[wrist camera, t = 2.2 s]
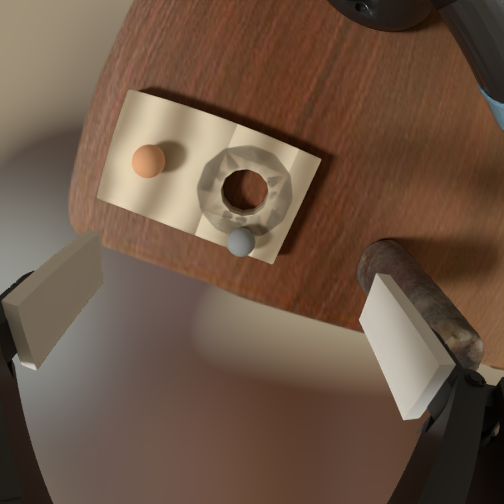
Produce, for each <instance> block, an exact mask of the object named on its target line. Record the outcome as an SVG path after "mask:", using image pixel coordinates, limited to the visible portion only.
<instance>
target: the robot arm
mask: <svg viewBox="0 0 504 504" xmlns="http://www.w3.org/2000/svg"><path fill="white" fill-rule="evenodd" d="M327 1H328V2H329V3H330V4H331V5H332V6H333V7H334V8H335V9H337V10H338V11H339V12H340V13H342V14H343V15H345V16H346V17H348V18H349V19H351V20H353V21H355V22H357V23H359V24H361V25H363V26H366V27H369V28H372V29H376V30H380V31H391V32H393V31H402V30H406V29H409V28H411V27H413V26H415V25H417V24H419V23H420V22H422V21H423V20H424V19H425V18H426V17H427V16H428V15H429V14H430V12H431V10H432V8H433V5H434V6H435V8H436V9H437V11H438V13H439V14H440V16H441V17H442V19H443V20H444V22H445V23H446V25H447V26H448V28H449V30H450V31H451V33H452V35H453V36H454V38H455V40H456V41H457V43H458V45H459V46H460V48H461V50H462V52H463V54H464V55H465V57H466V59H467V61H468V63H469V65H470V67H471V69H472V71H473V73H474V75H475V77H476V80H477V82H478V87H479V89H480V92H481V93H482V95H483V96H484V97H485V98H486V100H487V102H488V104H489V106H490V108H491V111H492V113H493V115H494V118H495V120H496V122H497V123H498V125H499V126H500V127H501V129H502V130H503V131H504V0H327ZM102 284H103V273H102V251H101V232H100V231H93V230H86V231H85V232H84V233H82V234H81V235H80V236H78V237H77V238H76V239H74V240H73V241H72V242H71V243H69V244H68V245H67V246H65V247H64V248H63V249H61V250H60V251H59V252H58V253H56V254H55V255H54V256H53V257H51V258H50V259H49V260H48V261H47V262H45V263H44V264H43V265H42V266H40V267H39V268H38V269H37V270H36V271H32V272H29V273H27V274H25V275H23V276H22V277H21V278H20V279H18V281H16V283H14V284H13V285H11V286H10V288H8V289H7V290H6V291H5V292H3V293H2V294H1V295H0V504H53V502H52V500H51V497H50V495H49V493H48V490H47V487H46V485H45V482H44V479H43V477H42V474H41V471H40V468H39V465H38V462H37V460H36V456H35V453H34V450H33V447H32V444H31V440H30V436H29V433H28V429H27V426H26V421H25V417H24V413H23V409H22V404H21V399H20V394H19V389H18V383H17V378H16V371H15V366H14V363H13V360H12V358H13V357H14V356H15V354H16V353H17V354H18V356H19V359H20V362H21V364H22V365H24V366H26V367H29V368H31V369H34V370H36V371H37V370H38V369H39V367H40V366H41V364H42V363H43V362H44V360H45V359H46V357H47V356H48V354H49V353H50V352H51V350H52V349H53V347H54V346H55V345H56V343H57V342H58V341H59V339H60V338H61V336H62V335H63V334H64V333H65V331H66V330H67V328H68V327H69V326H70V325H71V323H72V322H73V321H74V319H75V318H76V317H77V315H78V314H79V313H80V312H81V310H82V309H83V308H84V306H85V305H86V304H87V303H88V301H89V300H90V299H91V298H92V296H93V295H94V294H95V293H96V291H97V290H98V289H99V288H100V286H101V285H102ZM359 321H360V323H361V325H362V328H363V330H364V332H365V334H366V336H367V338H368V340H369V342H370V345H371V346H372V349H373V351H374V353H375V355H376V358H377V360H378V362H379V364H380V367H381V369H382V371H383V373H384V375H385V378H386V380H387V382H388V385H389V387H390V389H391V392H392V394H393V396H394V399H395V401H396V403H397V405H398V408H399V411H400V413H401V416H402V418H403V420H408V419H416V418H420V416H421V415H422V414H423V412H424V411H425V410H426V408H428V410H429V412H430V414H431V415H430V416H429V417H428V418H427V420H426V421H425V422H424V424H423V425H422V426H421V428H420V429H419V430H418V431H417V434H419V433H420V432H421V431H422V432H421V435H420V437H419V439H418V442H417V444H416V446H415V449H414V451H413V453H412V455H411V458H410V460H409V462H408V464H407V466H406V468H405V470H404V472H403V474H402V477H401V479H400V480H399V482H398V484H397V486H396V488H395V490H394V492H393V494H392V496H391V498H390V499H389V501H388V503H387V504H504V377H502V378H501V380H500V381H499V383H498V384H497V385H496V386H494V385H488V384H486V381H485V379H484V378H483V377H482V376H481V375H480V374H479V373H478V372H476V371H475V370H472V369H464V368H463V367H462V365H461V364H460V363H459V361H458V360H457V358H456V357H455V355H454V354H453V352H452V351H451V350H449V349H450V348H449V347H448V345H447V344H445V341H444V340H443V338H442V337H441V336H440V334H438V333H437V332H436V331H435V330H434V329H432V328H431V327H429V326H428V324H427V323H426V321H425V320H424V319H423V317H422V316H421V315H420V313H419V312H418V311H417V309H416V308H415V307H414V305H413V304H412V303H411V301H410V300H409V299H408V298H407V296H406V295H405V294H404V292H403V291H402V290H401V289H400V287H399V286H398V285H397V283H396V282H395V281H394V280H393V278H392V277H391V276H390V275H387V274H380V273H376V275H375V278H374V281H373V284H372V287H371V290H370V292H369V295H368V298H367V301H366V303H365V306H364V309H363V311H362V314H361V317H360V319H359ZM499 425H500V428H499V432H498V434H497V435H496V436H495V432H494V431H495V429H496V428H497V427H498V426H499Z"/></svg>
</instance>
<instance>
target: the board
mask: <svg viewBox="0 0 504 504" xmlns="http://www.w3.org/2000/svg"><path fill="white" fill-rule="evenodd" d="M147 144H152V145H155V146H157V147H159V148H160V149H161V150H162V151H163V153H164V155H165V166H164V168H163V170H162V171H161V173H159V174H158V175H157V176H155V177H152V178H143V177H141V176H139V175H137V174H136V173H135V171H134V169H133V167H132V157H133V154H134V153H135V151H136V150H137V149H138V148H139V147H141V146H143V145H147ZM321 160H322V159H320V158H318V157H316V156H314V155H312V154H309V153H307V152H305V151H303V150H300V149H298V148H296V147H294V146H291V145H289V144H287V143H284V142H282V141H280V140H277V139H275V138H272V137H270V136H268V135H265V134H263V133H260V132H258V131H255V130H253V129H250V128H247V127H245V126H242V125H240V124H237V123H234V122H232V121H229V120H226V119H224V118H221V117H218V116H215V115H212V114H209V113H207V112H204V111H201V110H198V109H195V108H192V107H189V106H186V105H183V104H179V103H176V102H173V101H170V100H167V99H163V98H160V97H157V96H153V95H150V94H146V93H143V92H139V91H135V90H131V89H129V90H128V93H127V96H126V98H125V101H124V104H123V107H122V110H121V113H120V116H119V119H118V122H117V125H116V128H115V131H114V135H113V138H112V141H111V145H110V148H109V152H108V155H107V159H106V163H105V166H104V170H103V174H102V178H101V182H100V186H99V191H98V195H97V198H99V199H101V200H104V201H106V202H109V203H112V204H114V205H117V206H119V207H122V208H125V209H127V210H130V211H133V212H135V213H138V214H140V215H143V216H146V217H148V218H151V219H154V220H156V221H159V222H161V223H164V224H167V225H169V226H172V227H175V228H177V229H180V230H183V231H185V232H188V233H190V234H193V235H196V236H198V237H201V238H204V239H206V240H209V241H212V242H214V243H217V244H220V245H222V246H225V247H227V248H228V246H227V239H228V236H229V234H230V233H231V232H232V231H233V230H235V229H238V228H244V229H247V230H249V231H250V232H251V233H252V234H253V235H254V238H255V247H254V249H253V251H252V252H251V253H250V254H248V255H249V256H251V257H254V258H257V259H259V260H262V261H265V262H267V263H270V264H273V262H274V260H275V258H276V256H277V254H278V252H279V250H280V248H281V246H282V244H283V241H284V239H285V237H286V235H287V233H288V231H289V229H290V227H291V224H292V222H293V220H294V218H295V216H296V214H297V212H298V210H299V207H300V205H301V203H302V201H303V199H304V197H305V194H306V192H307V190H308V188H309V186H310V184H311V181H312V179H313V177H314V175H315V173H316V171H317V168H318V166H319V164H320V162H321ZM244 169H249V170H252V171H254V172H257V173H259V174H260V175H261V176H262V177H263V179H264V180H265V181H266V182H267V186H268V193H267V195H266V197H265V200H264V202H262V203H261V204H260V205H258V206H257V207H256V208H254V209H247V210H241V209H239V208H236V207H234V206H232V205H231V204H230V203H229V202H228V200H227V199H226V198H225V196H224V190H223V184H224V181H225V179H226V177H228V176H229V175H230V174H231V173H233V172H234V171H237V170H244Z"/></svg>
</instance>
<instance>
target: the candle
mask: <svg viewBox="0 0 504 504" xmlns="http://www.w3.org/2000/svg"><path fill="white" fill-rule="evenodd" d="M376 273H380V274H387V275H390V276H391V277H392V278H393V280H394V281H395V282H396V283H397V285H398V286H399V287H400V289H401V290H402V291H403V292H404V294H405V295H406V296H407V298H408V299H409V300H410V301H411V303H412V304H413V305H414V307H415V308H416V309H417V311H418V312H419V313H420V315H421V316H422V317H423V319H424V320H425V321H426V323H427V324H428V326H429V327H431V328H432V329H434V330H435V331H436V332H437V333H438V334H440V336H441V337H442V338H443V340H444V341H445V344H447V345H448V347H449V348H450V349H449V350H451V351H452V352H453V354H454V355H455V357H456V358H457V360H458V361H459V363H460V364H461V365H462V367H463V368H464V369H472V370H475V371H476V370H477V369H478V368H479V364H480V362H481V360H482V357H483V354H484V346H483V342H482V340H481V338H480V336H479V335H478V333H477V332H476V331H475V330H474V329H473V327H472V326H471V325H470V324H469V322H468V321H467V320H466V318H465V317H464V316H463V315H462V314H461V313H460V311H459V310H458V309H457V308H456V307H455V305H454V304H453V303H452V302H451V300H450V299H449V298H448V297H447V296H446V295H445V294H444V293H443V291H442V290H441V289H440V288H439V287H438V286H437V285H436V284H435V283H434V281H433V280H432V279H431V278H430V277H429V276H428V274H427V273H426V272H425V271H424V270H423V269H422V268H421V266H420V265H419V264H418V263H417V262H416V261H415V260H414V259H413V258H412V257H411V255H410V254H409V253H408V252H407V251H406V250H405V249H404V248H403V247H402V246H401V245H400V244H399V243H397V242H396V241H394V240H384V241H378V242H375V243H373V244H372V245H370V246H369V247H368V248H367V249H366V251H365V252H364V253H363V255H362V257H361V260H360V262H359V265H358V270H357V278H358V281H359V283H360V285H361V286H362V288H363V290H364V292H365V294H366V295H367V297H368V295H369V292H370V290H371V287H372V284H373V281H374V278H375V275H376Z"/></svg>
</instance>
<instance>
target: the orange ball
mask: <svg viewBox="0 0 504 504" xmlns="http://www.w3.org/2000/svg"><path fill="white" fill-rule="evenodd" d="M164 166H165V155H164V153H163V151H162V150H161V149H160V148H159V147H157V146H155V145H152V144H147V145H143V146H141V147H139V148H138V149H137V150H136V151H135V153H134V154H133V157H132V167H133V169H134V171H135V173H136V174H137V175H139V176H141V177H143V178H152V177H155V176H157V175H158V174H159V173H161V171H162V170H163V168H164Z"/></svg>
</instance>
